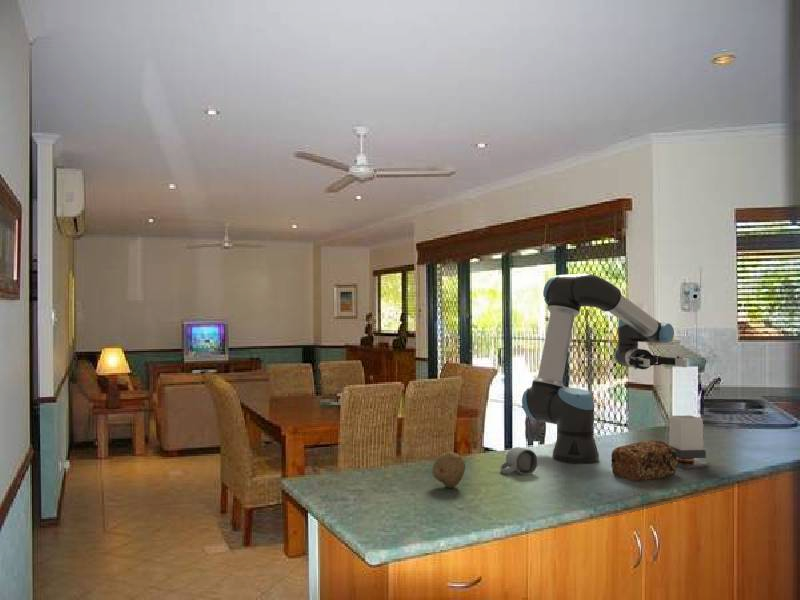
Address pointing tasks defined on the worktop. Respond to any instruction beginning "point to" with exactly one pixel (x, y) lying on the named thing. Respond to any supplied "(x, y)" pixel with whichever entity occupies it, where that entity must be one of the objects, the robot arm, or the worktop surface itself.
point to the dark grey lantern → (690, 463)
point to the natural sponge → (449, 469)
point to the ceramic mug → (520, 461)
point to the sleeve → (686, 432)
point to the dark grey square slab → (690, 453)
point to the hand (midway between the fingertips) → (667, 363)
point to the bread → (644, 460)
